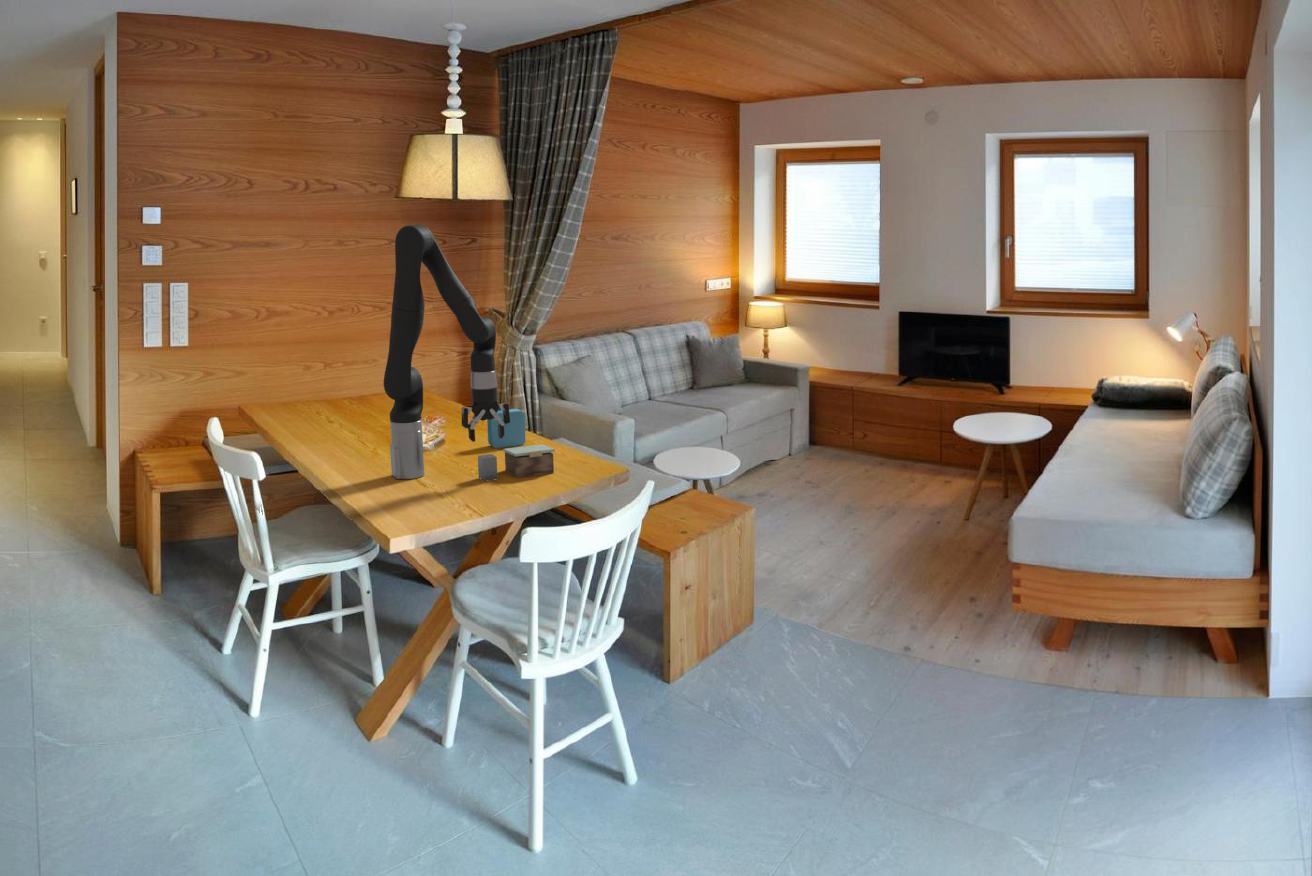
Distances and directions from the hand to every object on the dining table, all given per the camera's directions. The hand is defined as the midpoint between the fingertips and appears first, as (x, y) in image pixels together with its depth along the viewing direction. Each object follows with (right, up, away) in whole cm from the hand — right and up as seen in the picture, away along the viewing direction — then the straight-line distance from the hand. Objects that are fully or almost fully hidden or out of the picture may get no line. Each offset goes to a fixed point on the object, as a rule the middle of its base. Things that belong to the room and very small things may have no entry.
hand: (487, 439), depth 312 cm
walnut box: (+11, -10, +11) cm, 18 cm away
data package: (0, -2, +46) cm, 46 cm away
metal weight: (0, -12, +3) cm, 12 cm away
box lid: (+12, -4, +9) cm, 15 cm away
